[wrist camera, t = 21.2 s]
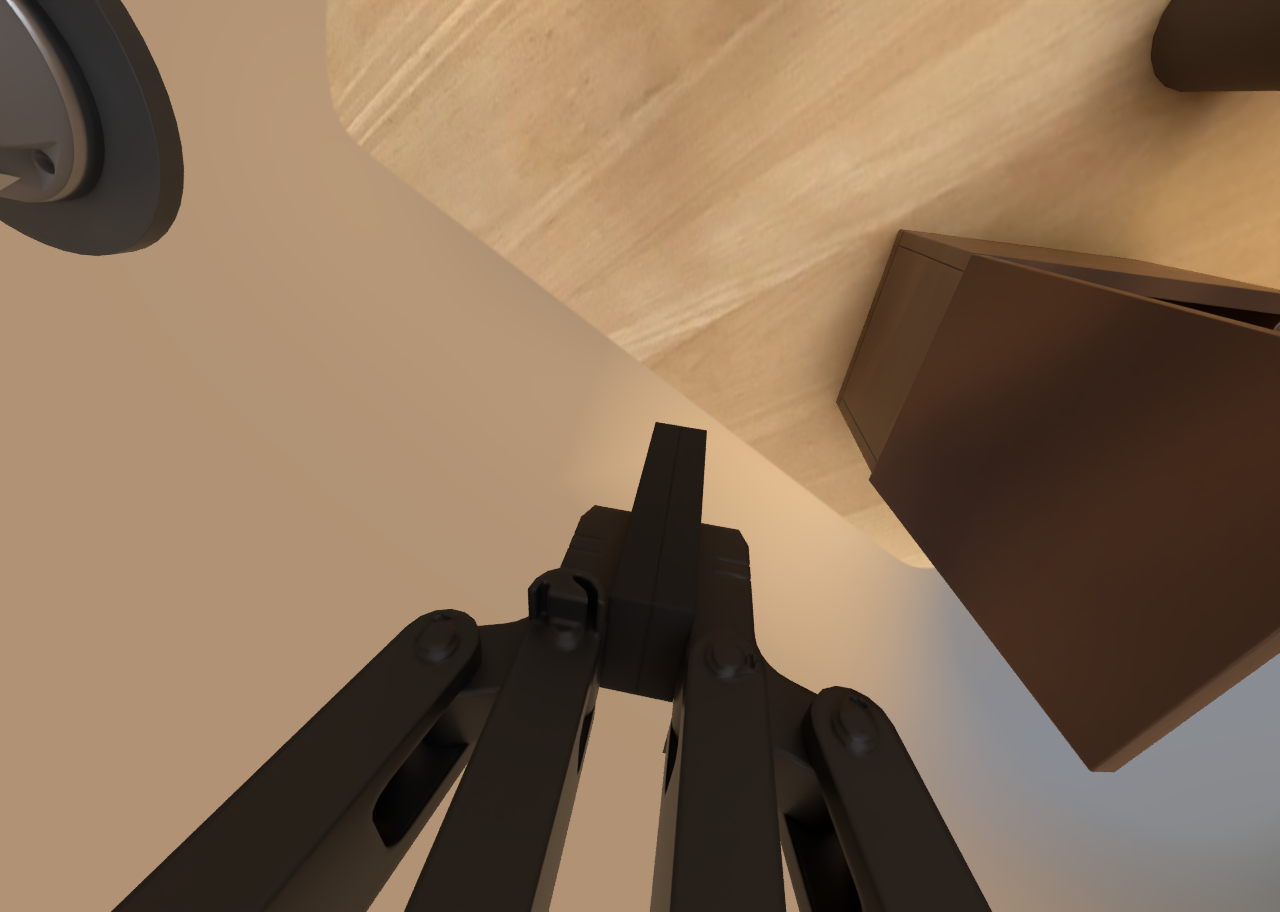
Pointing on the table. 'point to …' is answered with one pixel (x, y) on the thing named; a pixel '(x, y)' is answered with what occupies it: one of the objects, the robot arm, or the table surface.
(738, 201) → the table surface
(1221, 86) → the coffee cup
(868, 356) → the chest
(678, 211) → the table surface
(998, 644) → the lid
